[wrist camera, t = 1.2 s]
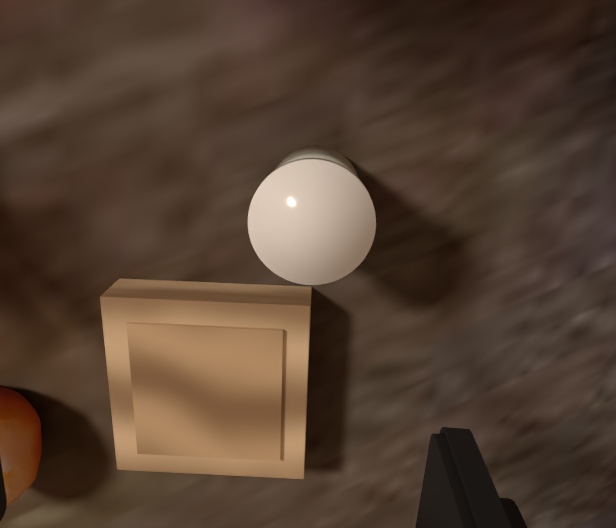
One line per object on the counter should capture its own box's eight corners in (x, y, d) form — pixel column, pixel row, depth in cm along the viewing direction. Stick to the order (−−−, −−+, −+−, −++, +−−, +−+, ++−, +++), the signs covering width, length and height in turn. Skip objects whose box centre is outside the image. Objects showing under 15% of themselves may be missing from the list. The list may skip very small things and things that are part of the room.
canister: (267, 139, 30) (247, 157, 22) (366, 143, 29) (380, 162, 22) (267, 234, 31) (247, 282, 24) (360, 238, 31) (371, 287, 24)
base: (119, 278, 33) (98, 298, 29) (311, 286, 32) (310, 307, 29) (133, 439, 36) (115, 472, 33) (305, 448, 36) (303, 481, 33)
